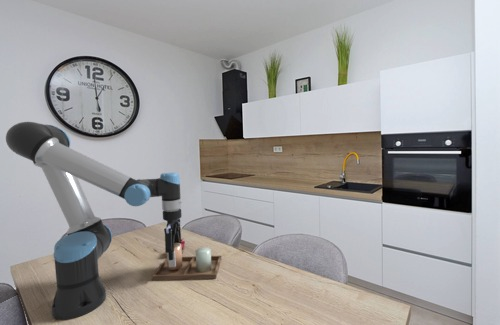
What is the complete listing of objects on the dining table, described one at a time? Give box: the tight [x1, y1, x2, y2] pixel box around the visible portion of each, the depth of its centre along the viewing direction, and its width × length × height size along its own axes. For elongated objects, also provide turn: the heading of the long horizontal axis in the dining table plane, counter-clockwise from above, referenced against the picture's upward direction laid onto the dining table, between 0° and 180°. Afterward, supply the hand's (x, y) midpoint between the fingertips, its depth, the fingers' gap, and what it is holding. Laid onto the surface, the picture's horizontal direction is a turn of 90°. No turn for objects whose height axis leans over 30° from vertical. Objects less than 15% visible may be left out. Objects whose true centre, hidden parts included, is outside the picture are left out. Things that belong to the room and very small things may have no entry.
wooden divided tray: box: [151, 255, 222, 282], centre depth 103 cm, size 17×25×2 cm
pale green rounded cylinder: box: [195, 246, 212, 272], centre depth 103 cm, size 6×6×8 cm
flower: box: [180, 237, 186, 255], centre depth 120 cm, size 10×9×8 cm
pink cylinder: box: [166, 243, 183, 270], centre depth 103 cm, size 6×6×9 cm
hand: (174, 262), depth 103 cm, fingers closed on pink cylinder, 6 cm apart
